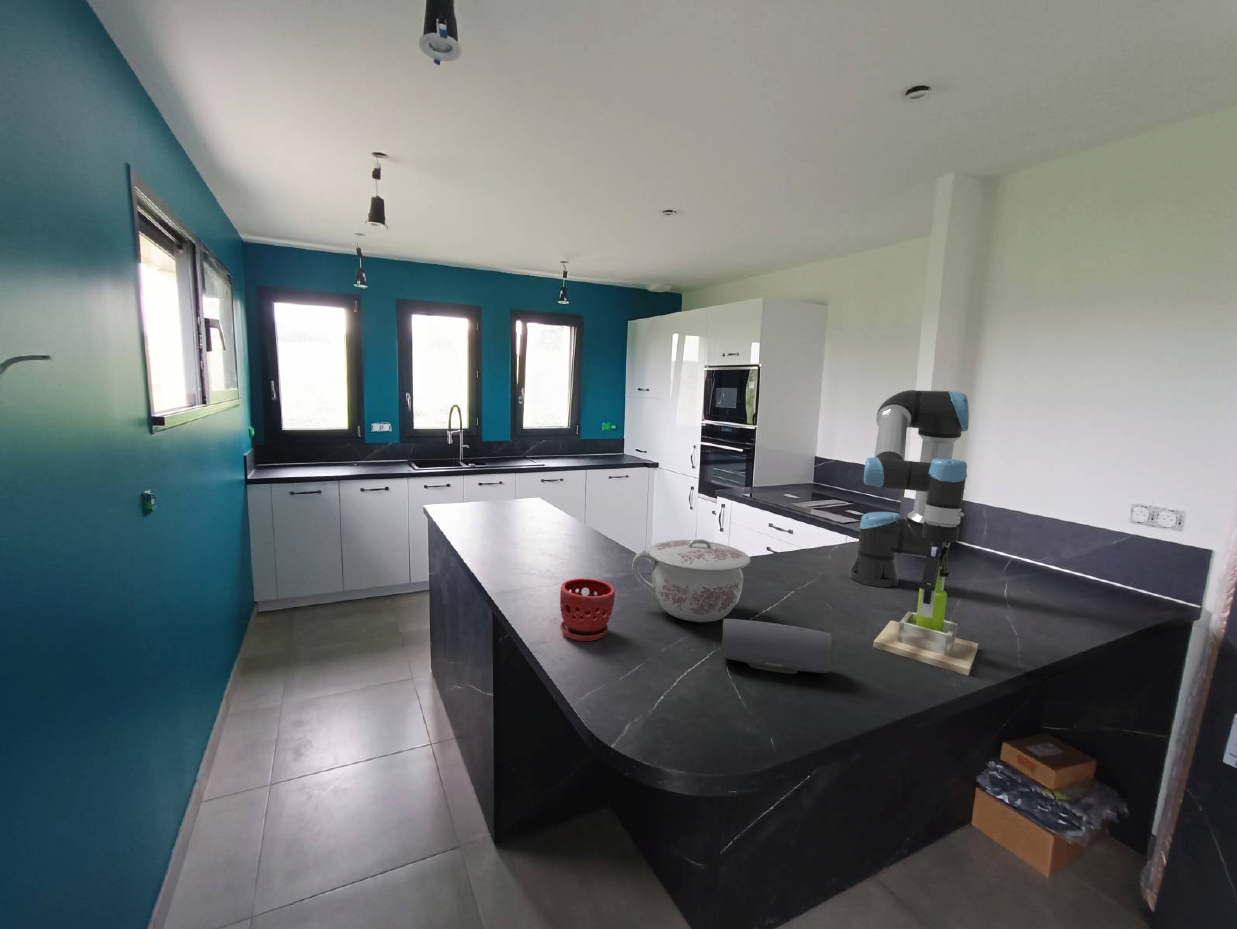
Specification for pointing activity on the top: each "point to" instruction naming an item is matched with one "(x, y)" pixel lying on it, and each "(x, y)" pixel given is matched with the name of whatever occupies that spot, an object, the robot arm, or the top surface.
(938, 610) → the soap dispenser
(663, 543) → the chamber pot
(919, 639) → the dispenser caddy
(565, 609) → the plant pot
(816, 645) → the bluetooth speaker
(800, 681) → the top surface
